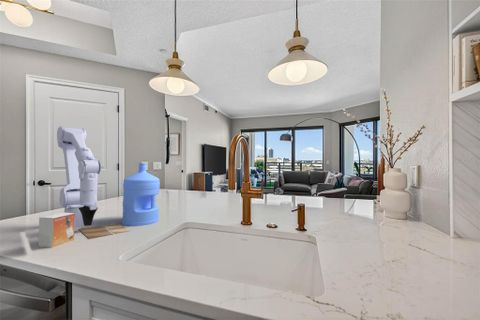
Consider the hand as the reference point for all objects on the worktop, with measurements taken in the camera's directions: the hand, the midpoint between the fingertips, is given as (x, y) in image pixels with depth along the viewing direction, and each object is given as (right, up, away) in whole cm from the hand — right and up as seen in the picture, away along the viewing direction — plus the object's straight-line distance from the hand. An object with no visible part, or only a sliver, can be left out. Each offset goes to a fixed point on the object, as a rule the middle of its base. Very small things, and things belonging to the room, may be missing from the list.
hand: (87, 225), depth 90 cm
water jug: (+14, -4, +17) cm, 22 cm away
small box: (-2, -4, -13) cm, 14 cm away
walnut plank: (+3, -4, 0) cm, 5 cm away
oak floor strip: (+8, -4, +5) cm, 10 cm away
